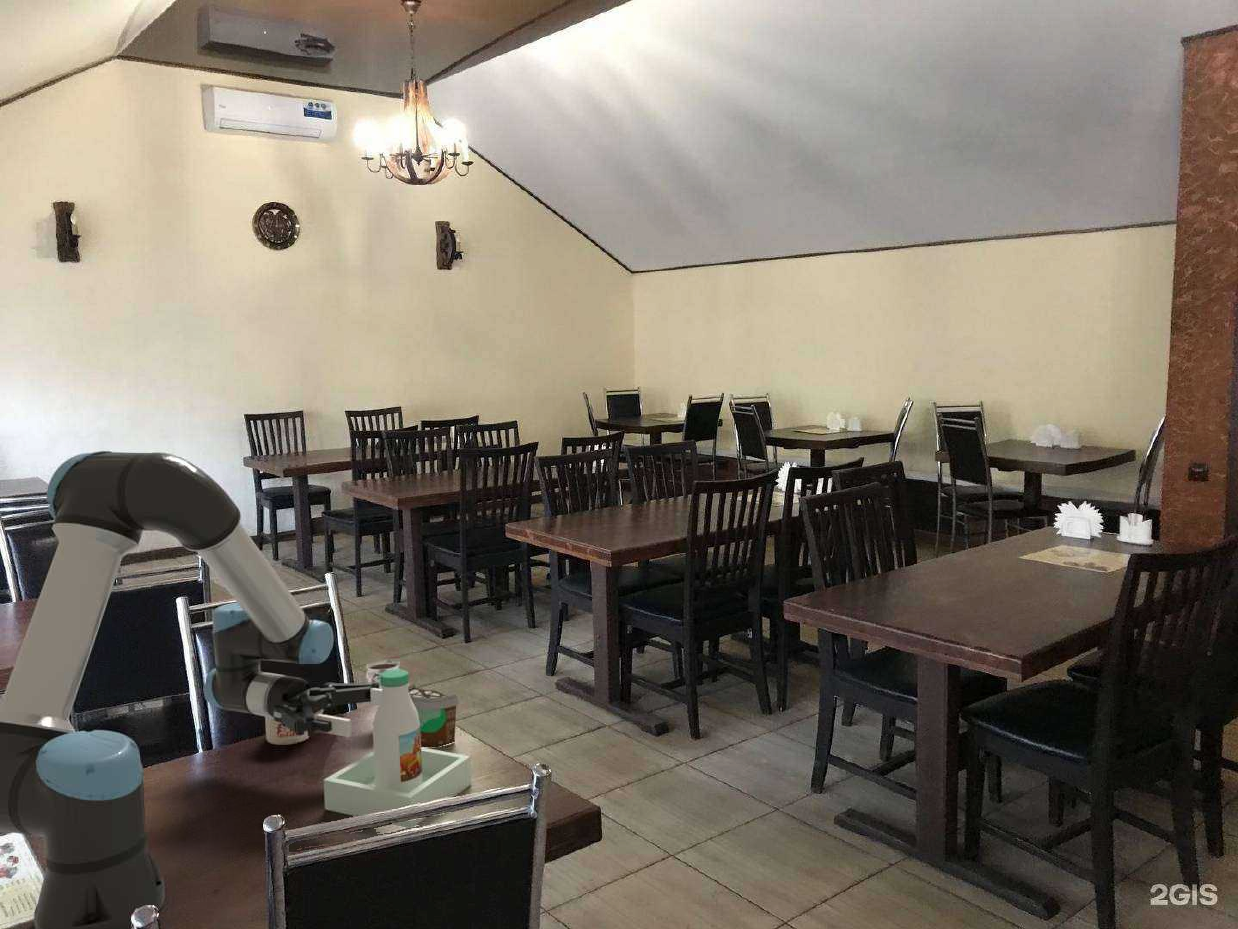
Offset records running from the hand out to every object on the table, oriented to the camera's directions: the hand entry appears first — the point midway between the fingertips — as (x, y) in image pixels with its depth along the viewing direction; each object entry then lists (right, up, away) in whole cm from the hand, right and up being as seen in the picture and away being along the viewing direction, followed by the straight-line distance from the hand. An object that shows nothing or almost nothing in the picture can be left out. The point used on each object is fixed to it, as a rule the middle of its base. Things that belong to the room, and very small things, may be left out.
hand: (377, 714), depth 160 cm
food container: (+4, -11, +22) cm, 25 cm away
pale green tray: (+4, -14, -1) cm, 14 cm away
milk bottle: (+4, -13, -1) cm, 13 cm away
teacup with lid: (-22, -11, +27) cm, 37 cm away
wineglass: (-7, -10, +33) cm, 35 cm away
